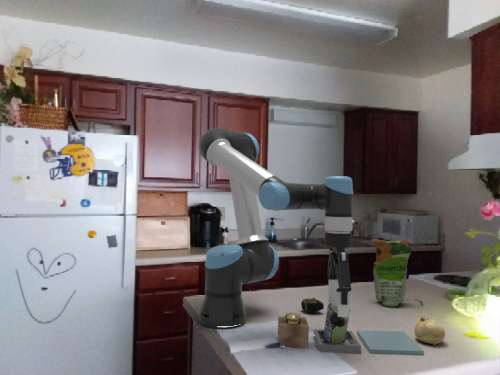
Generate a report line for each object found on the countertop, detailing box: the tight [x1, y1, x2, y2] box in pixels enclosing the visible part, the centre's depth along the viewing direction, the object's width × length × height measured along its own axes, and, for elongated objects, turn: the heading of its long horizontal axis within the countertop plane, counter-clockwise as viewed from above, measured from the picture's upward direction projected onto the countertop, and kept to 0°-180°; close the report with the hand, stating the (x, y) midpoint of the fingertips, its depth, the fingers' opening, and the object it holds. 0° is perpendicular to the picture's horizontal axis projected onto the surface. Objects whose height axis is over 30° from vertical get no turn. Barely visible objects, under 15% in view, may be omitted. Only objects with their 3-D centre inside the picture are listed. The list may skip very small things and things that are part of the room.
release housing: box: [277, 315, 310, 349], centre depth 108 cm, size 8×8×6 cm
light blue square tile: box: [356, 329, 425, 356], centre depth 109 cm, size 14×14×1 cm
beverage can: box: [322, 300, 351, 344], centre depth 107 cm, size 6×7×12 cm
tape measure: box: [300, 297, 325, 313], centre depth 135 cm, size 7×7×4 cm
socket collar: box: [312, 329, 362, 354], centre depth 107 cm, size 11×11×2 cm
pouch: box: [372, 238, 412, 307], centre depth 148 cm, size 11×12×25 cm
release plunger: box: [284, 312, 302, 324], centre depth 108 cm, size 4×4×7 cm
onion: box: [413, 316, 446, 346], centre depth 111 cm, size 8×8×7 cm
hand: (337, 308), depth 107 cm, fingers open, 13 cm apart
